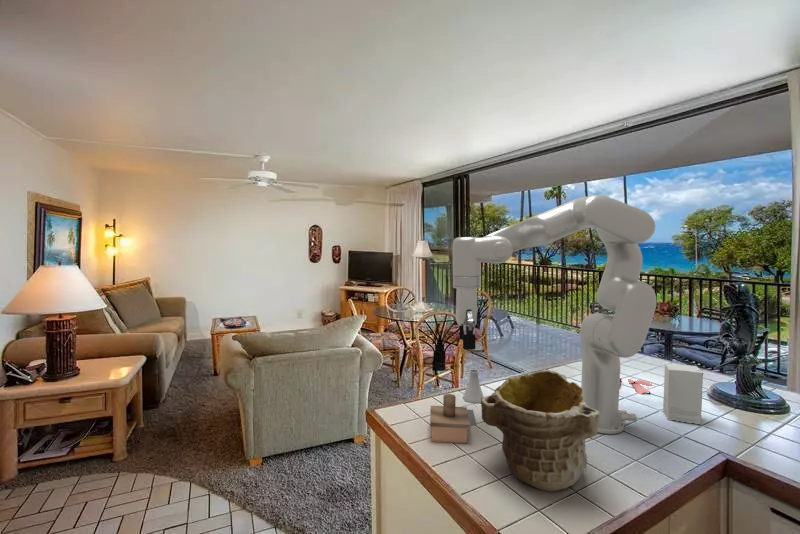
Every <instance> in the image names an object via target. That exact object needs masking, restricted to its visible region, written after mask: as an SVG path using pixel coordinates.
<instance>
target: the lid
mask: <svg viewBox="0 0 800 534" xmlns="http://www.w3.org/2000/svg"><path fill="white" fill-rule="evenodd" d="M456 397H457V396H456V395H454V394H452V393H446V394H443V397H442V398H443V399H442V400H443V401H442V402H443V403H442V405H430V409H429V411H430V412H429V413H430V414H429V416H430V417H429V420H430V421H429V427H431V428H432V427H451V428H467V429H468V430H469V429H470V428H471V426H470V422H469V417H468V412H467V409H468V408H467V407H466V406H456V403H457V402H456V399H457V398H456Z"/></svg>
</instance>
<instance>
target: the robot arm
mask: <svg viewBox="0 0 800 534" xmlns="http://www.w3.org/2000/svg"><path fill="white" fill-rule="evenodd" d="M594 228H595V229H596V234H597V236H598V239H600V240H601V242H602V243H603V244H604V245H603V246H605V249H606V253H607V260H606V264H605V268H604V270H603V274H602V277H601V280H600V283H599V286H598V288H597V292H596V300H597V303H598V305H599V306H601V308H604V309H606V310H609V311H612V312H614V315H609V314H606V313H601V312H595V313H591V314H589V315H587V316H586V317H585V318H583V320H582V322H581V324H580V330H579V334H580V335H579V336H580V341H581V353H582V355H581V357H582V359H581V362H582V364H581V380H580V381H581V382H580V384H581V386H580V387H581V388H582V389H583V391H582V396H584V399H585V401H584V402H585V403H586V405H587V406H589V407H591V408H592V409H595V410H597V411H598V412H599V413H600V415H599V422H598V431H597V434H598V433H599V434H606V435H613V434H614V435H616V434H620V433H622V432H623V431H624V429H625V424H624V422H625V421H628V422H629V421H630V422H636V421H637V419H638V417H637V415H636V413H629V412H628V411H627V410H624V409H623V410H620V409H619V405H620V404H619V403H620V401H619V400H620V388H619V385H620V386H621V384H620V383H621V381H620V378H621V358H631V357H634V356H635V355H637V354H638V353H639V352H640V350H641V349H642V347H643V345H644V343H645V342H646V338H647V335H648V332H649V330H650V326H651V324H652V320H653V318H654V314H655V312H656V308H657V295H656V293H655V290H654V289H653V287H652V286H651V285H649V284H648V283H647V282H645V281H641V280H639V279H640V274H641V271H642V268H643V260H644V258H643V253H642V250H641V248H640V246H639V244H642V243H644V242H647V241H648V240H649V239H650V238H652V236H653V234H655V231H656V222H655V220H654V218H653V217H652V215H650V214H649V213H648V212H646V211H645V210H643V209H641V208H638V207H635V206H633V205H630V204H628V203H625V202H623V201H620V200H618V199H615V198H613V197H609V196H606V195H602V194H592V195H588V196H583V197H578V198H575V199H572V200H570V201H568V202H565V203H563V204H561V205H558V206H556V207H553V208H551V209H548V210H546V211H544V212H541V213H538V214H536V215H533V216H530V217H528V218H526V219H524V220H522V221H520V222H516V223H514V224H512V225H509V226H506V227H505V228H502V229H499V230H497V231H494V232H491V233H489V234H487V235H485V236H483V237H475V236H464V237H463V236H460V237H459V236H458V237H456V238H454V239H453V241H452V288H454V289H456V292H455V294H456V295H455V296H456V297H455V321H456V323H457V326H459V340H461V341H462V349H463V350H476V330H475V326H476V325H477V321H478V293H477V291H478V289H481V288H482V263H487V264H495V265H496V264H497V265H498V264H503V263H506V262H508V261H509V260H510V259H511V257H512V256H513V253H514V252H517V251H519V250H524V249H528V248H536V247H542V246H545V245H548V244H551V243H554V242H557V241H558V240H560V239H562V238H565V237H568V236H570V235H573V234H575V233H577V232H580V231H582V230H586V229H594Z"/></svg>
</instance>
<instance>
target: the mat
mask: <svg viewBox="0 0 800 534" xmlns="http://www.w3.org/2000/svg"><path fill="white" fill-rule="evenodd" d="M467 412H468V417H469V422H470V427H471V426H473V427H475V426H476V427H477V421H476V418H475V411H474V409H468V408H467Z"/></svg>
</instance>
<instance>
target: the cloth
mask: <svg viewBox="0 0 800 534" xmlns="http://www.w3.org/2000/svg"><path fill="white" fill-rule="evenodd" d="M622 378H623V377H620V385H619V389H620V388H621V384H622V383H621V382H622V381H621V380H622ZM631 379H632V378H631ZM631 379H628V382H629V384H628V385H631V387H632V389H635V391H634V392H635V393H636V394H638V393H639V395H642V394H643V393H646V392H649V393H650V394H649V395H651V391H650V390H649V389H647V387H644V386H641V385H640V384H642V385H646V386H654V385H652V384H653V383H652V382H650V381H647V380H643V379H638V380H637V381H633V380H631ZM634 382H635V383H634ZM650 383H651V384H650ZM643 395H644V394H643Z"/></svg>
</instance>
